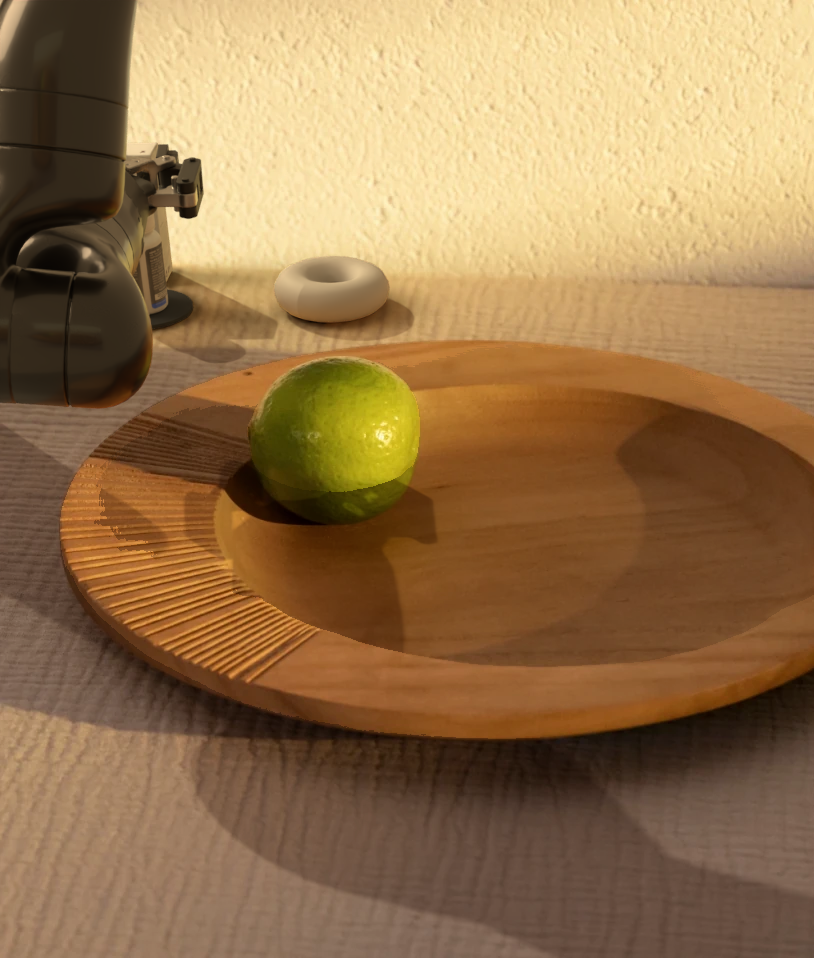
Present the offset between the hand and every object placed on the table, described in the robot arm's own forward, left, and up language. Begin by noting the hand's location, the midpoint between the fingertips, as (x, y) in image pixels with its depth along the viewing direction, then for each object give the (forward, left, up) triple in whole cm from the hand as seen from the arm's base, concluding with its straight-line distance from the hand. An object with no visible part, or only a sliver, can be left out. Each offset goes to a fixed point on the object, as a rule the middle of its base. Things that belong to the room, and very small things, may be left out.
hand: (104, 158), depth 96 cm
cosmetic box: (-12, +15, -17) cm, 25 cm away
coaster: (-6, +9, -16) cm, 20 cm away
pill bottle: (-6, +9, -16) cm, 19 cm away
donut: (+8, +18, -17) cm, 25 cm away
